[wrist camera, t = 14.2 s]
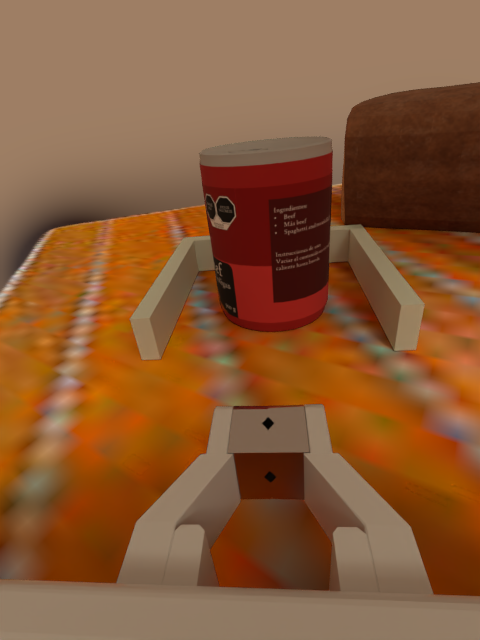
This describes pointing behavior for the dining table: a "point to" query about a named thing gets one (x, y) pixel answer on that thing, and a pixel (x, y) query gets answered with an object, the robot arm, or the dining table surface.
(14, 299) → the dining table surface
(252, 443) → the robot arm
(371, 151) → the bread
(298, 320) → the canned food
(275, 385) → the dining table surface
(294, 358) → the dining table surface
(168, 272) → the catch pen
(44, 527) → the dining table surface
